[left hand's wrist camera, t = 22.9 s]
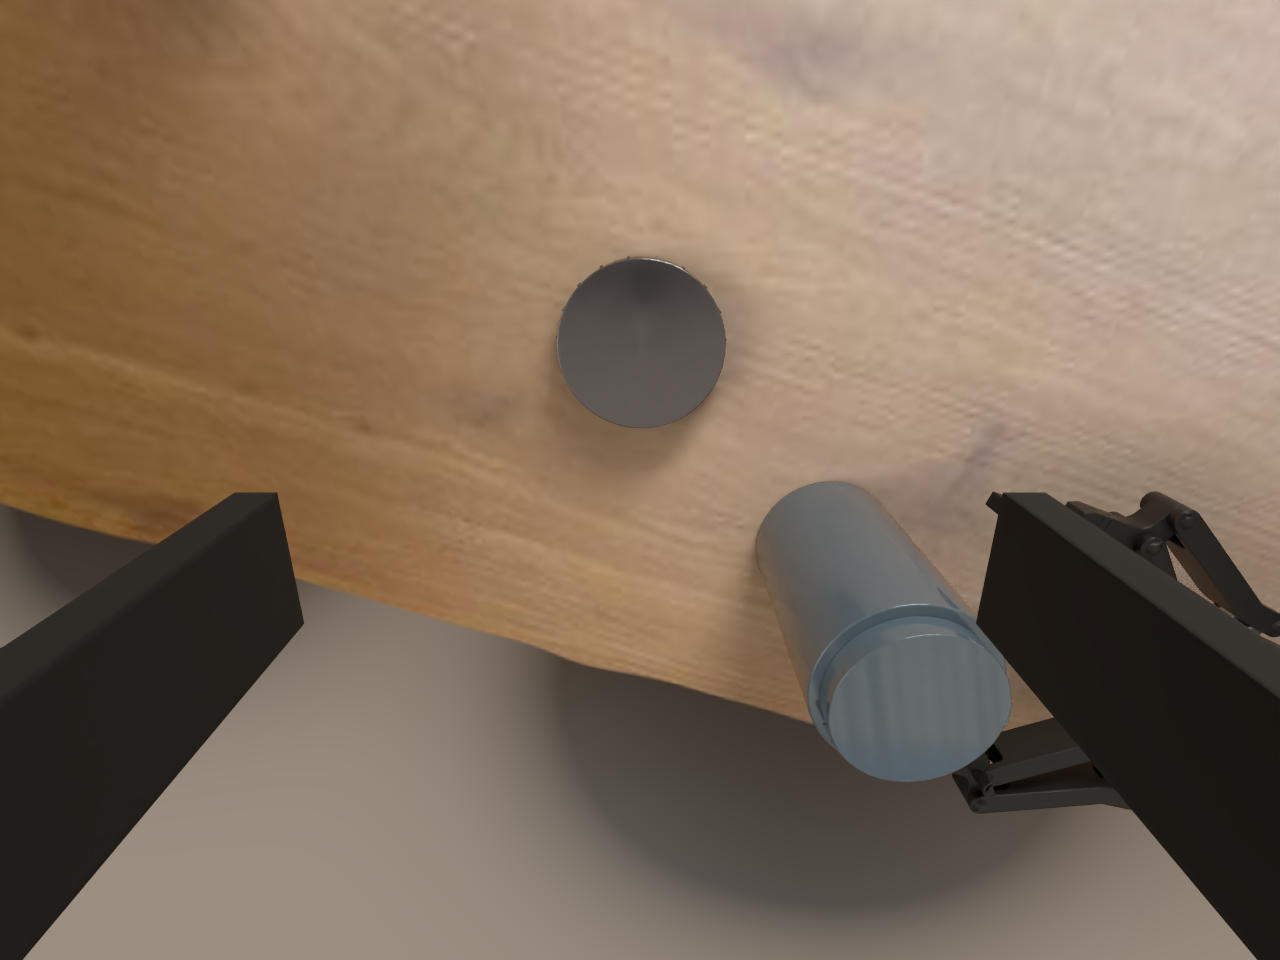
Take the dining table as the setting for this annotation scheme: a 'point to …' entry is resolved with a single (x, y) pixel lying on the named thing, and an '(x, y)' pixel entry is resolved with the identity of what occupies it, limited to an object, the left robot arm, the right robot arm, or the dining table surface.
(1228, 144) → the dining table surface
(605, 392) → the lid
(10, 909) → the left robot arm
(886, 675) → the jar
